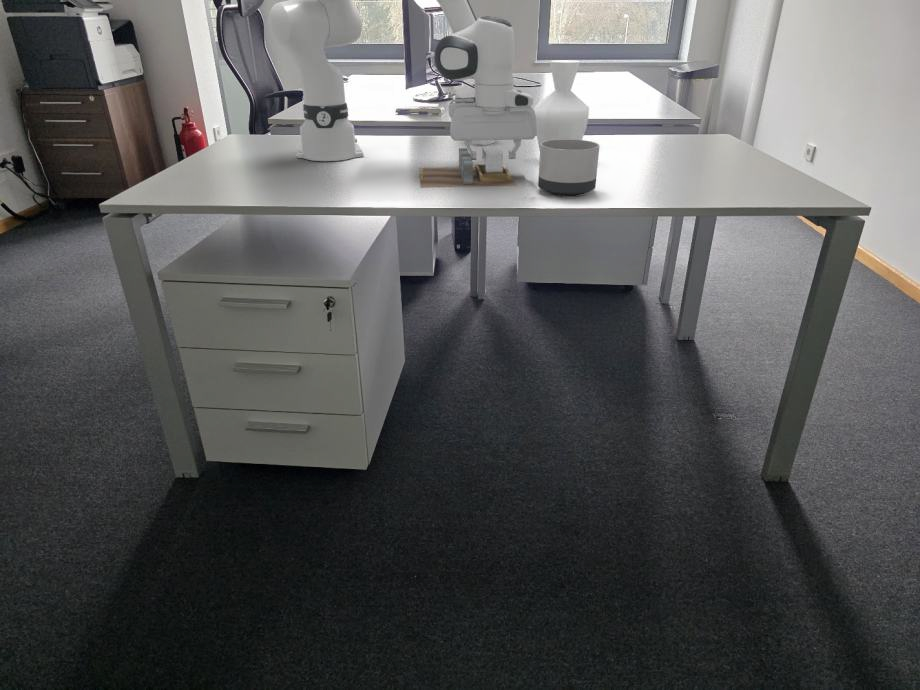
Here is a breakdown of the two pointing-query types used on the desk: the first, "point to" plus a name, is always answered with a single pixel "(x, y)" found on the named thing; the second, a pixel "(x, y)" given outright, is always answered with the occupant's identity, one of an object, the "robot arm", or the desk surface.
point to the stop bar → (492, 160)
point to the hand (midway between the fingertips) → (492, 159)
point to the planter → (568, 167)
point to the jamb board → (455, 178)
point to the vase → (561, 107)
